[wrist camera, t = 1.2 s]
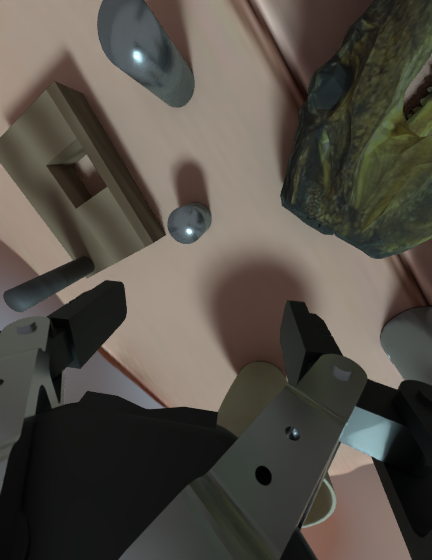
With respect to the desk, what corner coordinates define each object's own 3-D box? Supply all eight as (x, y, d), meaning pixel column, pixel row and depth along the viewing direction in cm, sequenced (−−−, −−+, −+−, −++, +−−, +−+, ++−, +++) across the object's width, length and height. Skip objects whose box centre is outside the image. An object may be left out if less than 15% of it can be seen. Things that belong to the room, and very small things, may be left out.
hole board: (82, 93, 26) (-84, 18, 13) (165, 234, 31) (101, 275, 19) (22, 151, 30) (-149, 135, 18) (104, 267, 35) (18, 319, 23)
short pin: (202, 196, 28) (190, 200, 24) (217, 225, 29) (208, 234, 25) (176, 211, 30) (160, 217, 25) (191, 238, 31) (179, 249, 26)
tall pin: (181, 49, 23) (130, -32, 14) (201, 92, 24) (165, 43, 15) (151, 75, 24) (86, 18, 15) (170, 115, 25) (121, 83, 16)
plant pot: (323, 394, 38) (361, 526, 24) (247, 414, 43) (239, 531, 29) (280, 328, 34) (293, 438, 20) (202, 360, 40) (168, 463, 25)
